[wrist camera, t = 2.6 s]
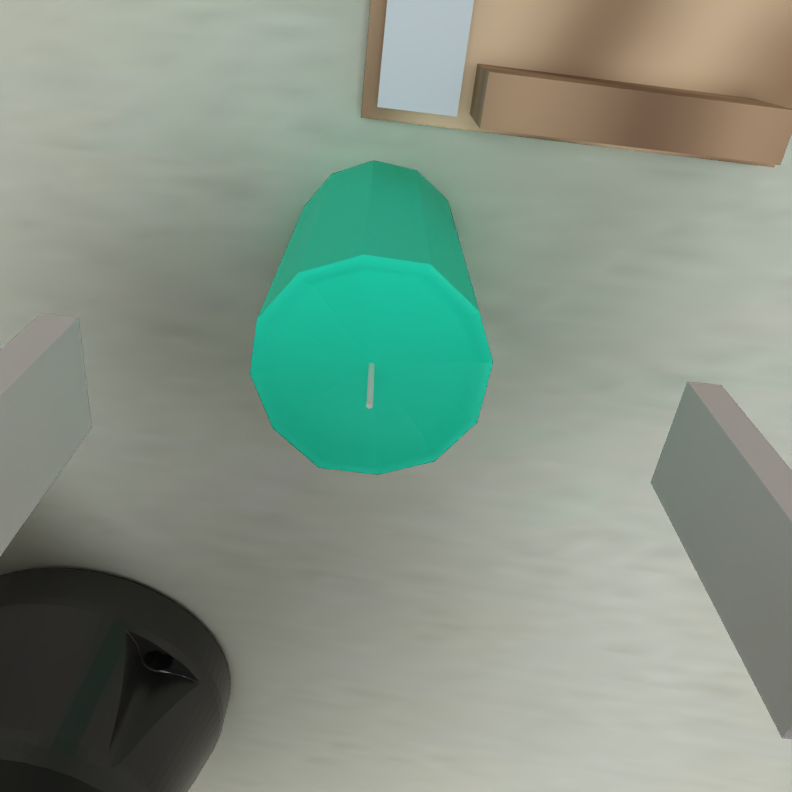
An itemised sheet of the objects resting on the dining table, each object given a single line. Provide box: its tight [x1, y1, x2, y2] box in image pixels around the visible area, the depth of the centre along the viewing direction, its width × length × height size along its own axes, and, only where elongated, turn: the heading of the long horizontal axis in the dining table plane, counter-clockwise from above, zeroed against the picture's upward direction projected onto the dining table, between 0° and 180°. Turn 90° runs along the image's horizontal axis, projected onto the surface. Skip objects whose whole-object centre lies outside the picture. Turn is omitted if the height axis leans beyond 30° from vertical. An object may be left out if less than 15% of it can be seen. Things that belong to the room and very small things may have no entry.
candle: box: [250, 161, 493, 475], centre depth 21 cm, size 6×6×12 cm
